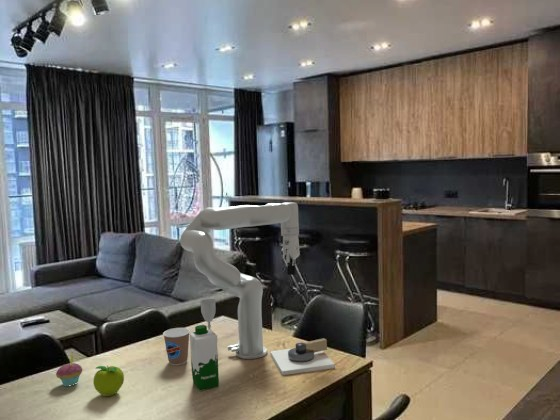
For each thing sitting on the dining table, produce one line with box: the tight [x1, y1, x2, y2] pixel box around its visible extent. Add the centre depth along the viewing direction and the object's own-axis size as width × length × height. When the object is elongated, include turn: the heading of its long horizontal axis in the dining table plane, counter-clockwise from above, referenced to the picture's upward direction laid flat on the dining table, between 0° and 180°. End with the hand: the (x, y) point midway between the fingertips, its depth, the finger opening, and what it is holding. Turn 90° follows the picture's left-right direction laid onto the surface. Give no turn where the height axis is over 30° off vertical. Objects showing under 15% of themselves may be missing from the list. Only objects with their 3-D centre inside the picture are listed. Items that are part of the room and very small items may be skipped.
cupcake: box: [55, 351, 83, 387], centre depth 169 cm, size 9×8×12 cm
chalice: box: [199, 298, 217, 331], centre depth 206 cm, size 7×7×18 cm
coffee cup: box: [162, 327, 191, 366], centre depth 185 cm, size 10×10×12 cm
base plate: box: [269, 347, 336, 376], centre depth 181 cm, size 20×20×2 cm
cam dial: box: [288, 337, 328, 362], centre depth 182 cm, size 16×10×5 cm, turn 116°
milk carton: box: [189, 324, 220, 391], centre depth 163 cm, size 9×9×20 cm
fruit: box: [93, 365, 125, 397], centre depth 159 cm, size 9×9×10 cm
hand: (291, 274), depth 201 cm, fingers closed
